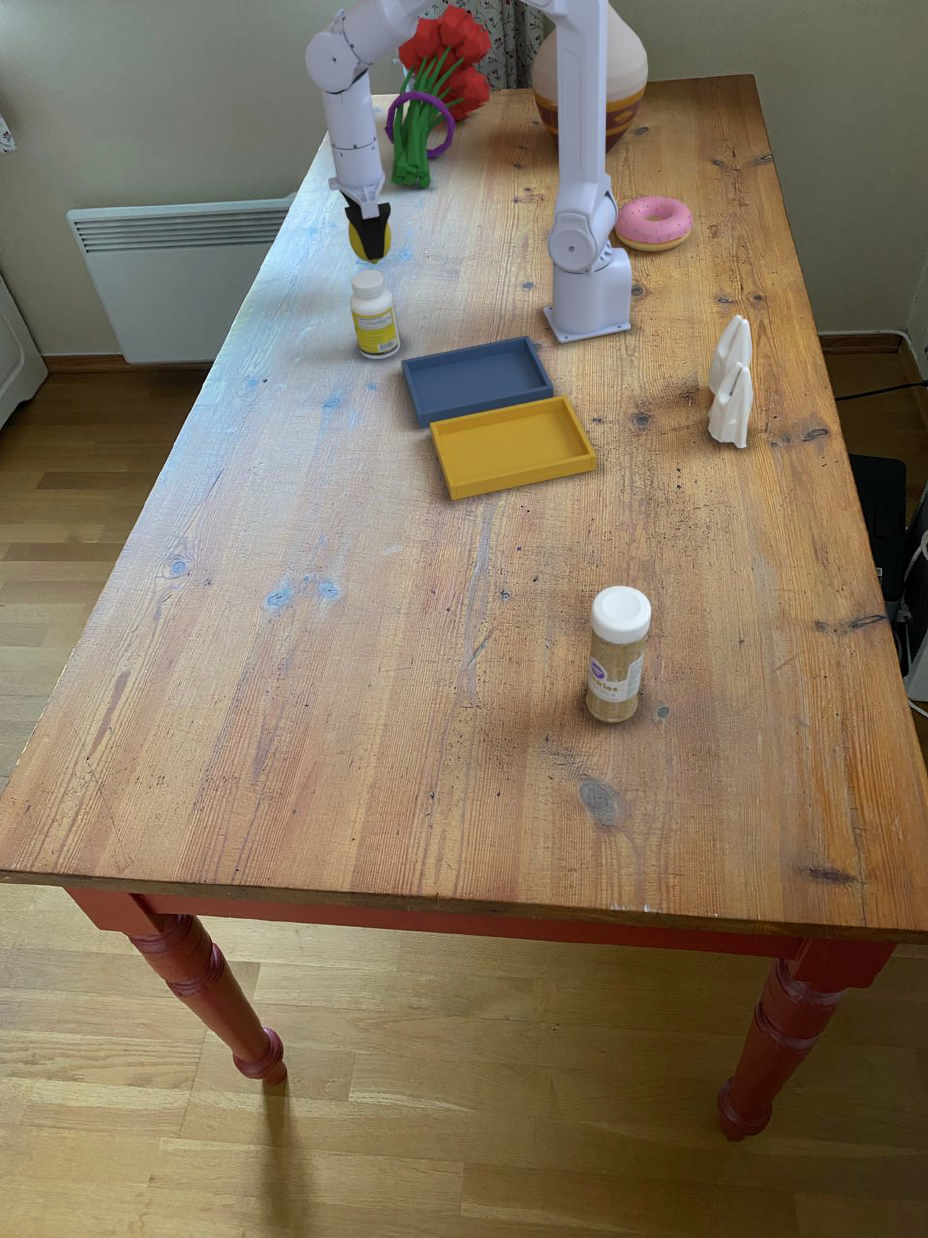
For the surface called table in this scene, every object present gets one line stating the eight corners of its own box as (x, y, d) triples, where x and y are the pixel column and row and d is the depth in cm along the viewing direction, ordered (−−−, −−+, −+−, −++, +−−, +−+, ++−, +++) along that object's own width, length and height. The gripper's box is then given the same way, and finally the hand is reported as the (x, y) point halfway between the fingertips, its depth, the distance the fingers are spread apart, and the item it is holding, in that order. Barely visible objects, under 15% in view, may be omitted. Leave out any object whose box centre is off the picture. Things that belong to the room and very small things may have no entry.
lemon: (389, 275, 118) (380, 215, 111) (349, 273, 119) (338, 215, 112) (399, 253, 121) (391, 194, 115) (360, 252, 122) (350, 194, 116)
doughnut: (669, 211, 131) (672, 182, 128) (705, 245, 124) (709, 216, 121) (601, 228, 130) (602, 199, 126) (633, 263, 123) (636, 234, 120)
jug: (649, 173, 139) (669, -61, 116) (535, 181, 140) (532, -49, 117) (636, 119, 151) (651, -102, 128) (531, 127, 153) (527, -90, 129)
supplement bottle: (368, 334, 117) (355, 264, 110) (406, 338, 116) (396, 268, 108) (353, 358, 114) (338, 288, 106) (392, 362, 113) (381, 292, 105)
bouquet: (374, 225, 148) (412, 109, 161) (470, 228, 145) (501, 109, 157) (345, 113, 131) (391, -8, 143) (454, 114, 127) (491, -10, 140)
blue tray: (528, 348, 112) (528, 334, 111) (553, 401, 105) (553, 387, 104) (403, 373, 111) (401, 360, 109) (420, 428, 104) (418, 414, 102)
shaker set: (705, 381, 105) (719, 296, 97) (742, 381, 105) (759, 296, 96) (707, 447, 98) (722, 362, 90) (746, 448, 97) (765, 362, 89)
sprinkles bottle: (575, 707, 78) (579, 610, 68) (605, 673, 80) (613, 574, 70) (619, 734, 76) (630, 638, 66) (648, 699, 78) (663, 600, 68)
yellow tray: (566, 408, 104) (566, 394, 103) (595, 469, 97) (596, 455, 96) (431, 436, 103) (429, 422, 101) (451, 500, 96) (450, 486, 94)
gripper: (314, 121, 112) (335, 226, 122) (328, 170, 102) (349, 279, 113) (369, 111, 112) (385, 216, 123) (388, 159, 103) (404, 268, 114)
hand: (371, 246), depth 118 cm, fingers closed on lemon, 5 cm apart
